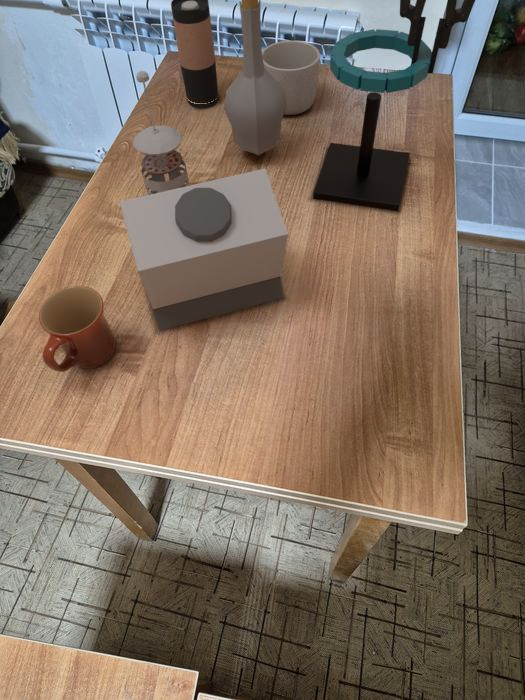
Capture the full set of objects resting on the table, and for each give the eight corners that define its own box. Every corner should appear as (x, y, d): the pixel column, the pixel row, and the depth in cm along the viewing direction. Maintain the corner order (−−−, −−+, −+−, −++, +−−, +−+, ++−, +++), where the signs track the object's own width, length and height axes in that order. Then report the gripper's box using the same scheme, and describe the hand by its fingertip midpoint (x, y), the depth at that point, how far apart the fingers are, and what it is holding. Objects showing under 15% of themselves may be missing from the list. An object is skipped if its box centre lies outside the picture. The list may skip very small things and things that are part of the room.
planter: (261, 121, 112) (259, 70, 103) (263, 90, 119) (261, 40, 110) (317, 120, 111) (320, 69, 102) (316, 89, 118) (319, 39, 109)
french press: (148, 226, 94) (109, 93, 73) (144, 186, 101) (107, 54, 80) (200, 217, 95) (177, 83, 74) (193, 179, 101) (169, 46, 81)
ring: (432, 46, 83) (435, 33, 81) (423, 97, 75) (426, 83, 73) (340, 39, 85) (341, 26, 84) (322, 87, 78) (323, 73, 76)
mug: (83, 323, 82) (60, 279, 73) (132, 336, 80) (114, 293, 71) (42, 384, 76) (11, 345, 67) (94, 400, 74) (69, 362, 65)
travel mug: (185, 93, 119) (168, -4, 103) (217, 88, 120) (206, -9, 103) (188, 111, 115) (171, 12, 99) (221, 106, 116) (211, 7, 99)
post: (408, 159, 102) (427, 76, 89) (398, 211, 94) (417, 128, 80) (329, 148, 105) (336, 67, 92) (312, 198, 97) (317, 116, 83)
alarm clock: (258, 243, 91) (252, 139, 74) (287, 308, 82) (288, 208, 65) (144, 271, 88) (111, 170, 71) (162, 342, 79) (129, 246, 62)
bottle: (277, 174, 101) (275, 5, 76) (223, 167, 103) (203, -1, 78) (290, 141, 107) (292, -26, 82) (239, 135, 109) (225, -31, 84)
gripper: (535, -147, 60) (473, 60, 79) (405, -150, 63) (376, 51, 82) (536, -127, 56) (471, 86, 75) (397, -132, 59) (369, 75, 78)
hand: (422, 67), depth 79 cm, fingers closed on ring, 2 cm apart
